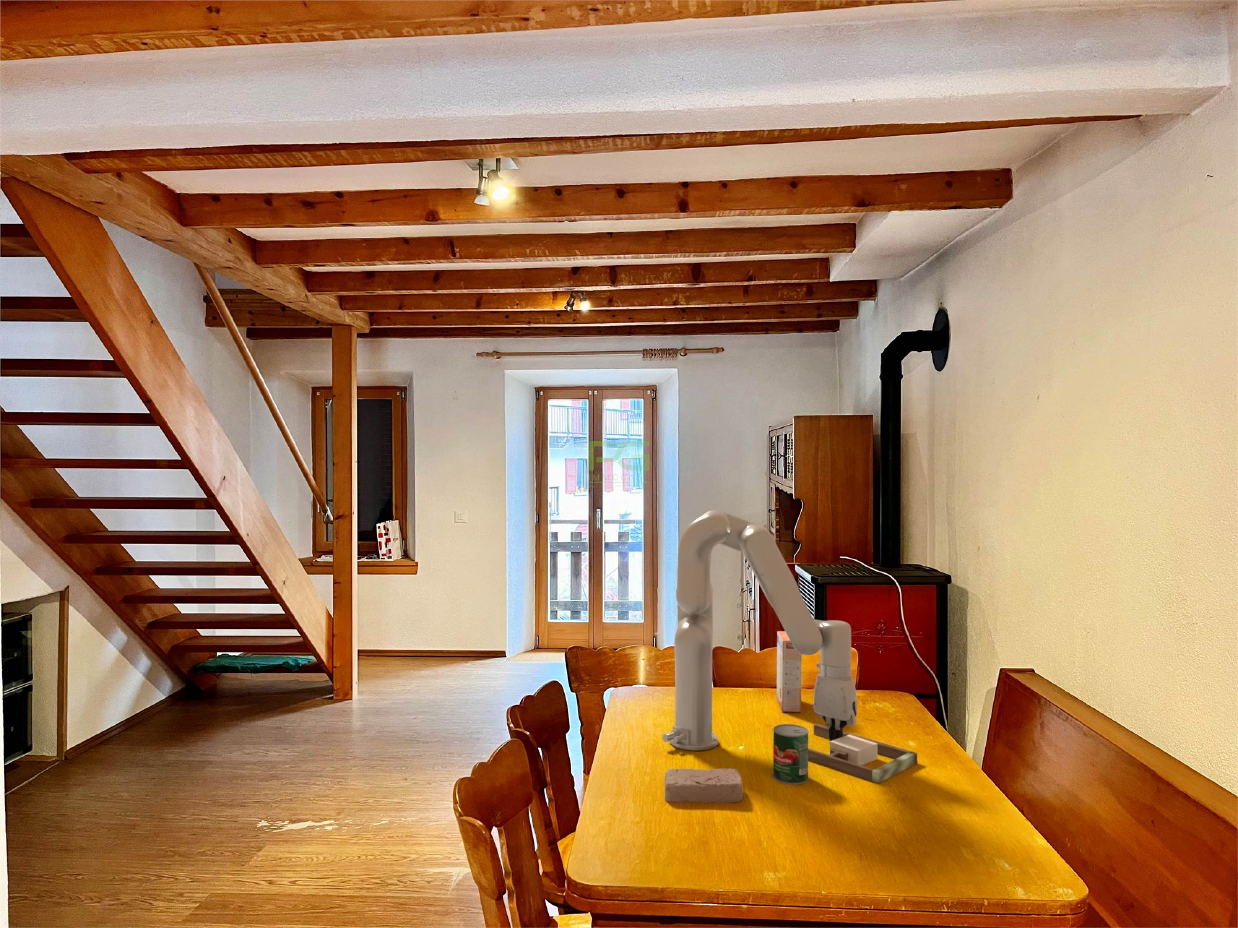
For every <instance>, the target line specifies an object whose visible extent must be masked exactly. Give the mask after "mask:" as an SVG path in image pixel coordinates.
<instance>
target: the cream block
mask: <svg viewBox="0 0 1238 928" xmlns="http://www.w3.org/2000/svg"><path fill="white" fill-rule="evenodd" d="M850 734H851V733H850ZM850 734H849V735H847V736H844V737H841V738H838V739H835V740H832V741H830V740H829V751H830V750H831V749H837V750H840V751H843V752H846V753H848V761H849V762H852V763H855V764H858V765H861V766H864V765H866V764H868V763H870V762H873V761H876V760H878V753H877V743H874V742H871V741H868V740H865V739H862V738H859V737H856V736H853V735H850Z"/></svg>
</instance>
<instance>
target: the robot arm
mask: <svg viewBox="0 0 1238 928" xmlns="http://www.w3.org/2000/svg"><path fill="white" fill-rule="evenodd" d="M718 545H722V546H724V547H727V548H730V549H733V550H735V551H737V552H742V553H743V555H744V557H745V560H746V561H747V563H748V565H749V566H750V569H751V570H752V573H753V574H754V577H755V578H756V581H757V582H758V584H759V587H760V588H761V590H762V592H763V593H764V596H765V598H766V599H767V602H768V603H769V604H770V606H771V607H772V608H773V610H774V612H775V614H776V616H777V618H778V619H779V622H780V623H781V625H782V628H783V629H784V631H786V633H787V635H788V637H789V639H790V641H791V643H792V645H793V647H794V648H795V650H796V651H797V652H799V653H801V654H802V656H803V655H804V656H812V655H815V654H817V653H818V652H819V656H820V657H819V661H820V662H819V661H818V662H816V665H815V666H816V668H818V669H819V673H817V675H816V679H815V683H814V693H813V711H814V712H815V714H816V716H818V717H820V718H821V719H823V721H824V722H825V724H826V727H828V728H829V742H830V741H832V740H835V739H838V738H841V737H843V732H844V729H845V728H846V726H853V725H857V720H856V716H857V714H858V701H857V699H858V697H857V690H856V685H855V680H854V679H855V678H854V677H852V628H851V625H850V624H849V623H848V622H846V621H843V620H836V619H835V620H833V619H832V620H831V619H830V620H822V619H821V620H820V619H814V617H813V616H812V614H811V611H810V610H809V608H808V605H807V604H806V601H805V600H804V598H803V596H802V594H801V591H800V589H799V586H798V583H797V581H796V580H795V577H794V575H793V573H792V571H791V570H790V568H789V566H788V564H787V562H786V560H785V559H784V557H783V554H782V552H781V551H780V549H779V546H778V545H777V543H776V541H775V539H774V538H773V536H772V534H771V532H770V531H769V530H768V529H767V528H766V527H765V526H762V525H760V524H757V523H754V522H751V521H748V520H745V519H742V518H740V517H738V516H735V515H732V514H730V513H727V512H724V511H721V510H718V509H717V510H715V509H712V510H709V511H706V512H705V513H703V514H702V515H701V516H700V517H698V518H697V519H694V520H693V521H692V522H691V523H690V524H689V525H688V526H687V527H686V528H685V530H684V531H683V532H682V534H681V537H680V539H679V543H678V548H677V567H676V568H677V570H676V571H677V573H676V576H677V577H676V591H675V599H676V602H677V609H676V612H677V614H676V615H677V628H676V630H675V634H674V681H675V686H674V688H675V690H674V693H675V695H674V696H675V697H674V699H675V701H674V703H675V706H674V708H675V709H674V710H675V711H674V713H675V714H674V716H675V717H674V720H675V721H674V723H675V725H672V730H671V731H670V732H667V733H664V734H662V741H663V742H664V743H667V742H669V744H670V745H672V746H673V747H675V748H678V749H681V750H684V751H685V750H686V751H695V752H696V751H706V750H711V749H713V748H715V747H717V746H718V744H719V737H718V736H717V735H716V734H715V733H713V646H714V645H713V644H714V643H713V637H714V636H713V635H714V632H713V631H714V630H713V620H714V619H713V617H714V616H713V597H714V596H713V592H714V591H713V585H712V583H711V559H712V558H711V556H712V555H711V554H712V552H713V549H714V548H715V547H716V546H718Z"/></svg>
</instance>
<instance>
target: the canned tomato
mask: <svg viewBox="0 0 1238 928" xmlns="http://www.w3.org/2000/svg"><path fill="white" fill-rule="evenodd" d="M772 731H773V734H772V736H773V742H772V743H773V747H772V748H773V749H772V751H773V754H772V755H773V764H772V766H773V767H772V769H773V770H772V771H773V774H772V778H773V779H774V780H775V781H777V783H780V784H785V785H791V786H792V785H793V786H796V785H804V784H806V783H807V782H808V781H809V760H808V748H809V732H810V731H809V730H808V729H807V728H806V727H804V726H801V725H799V724H791V723H785V724H784V723H783V724H778V725H776V726H773V729H772Z"/></svg>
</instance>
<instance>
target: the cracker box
mask: <svg viewBox="0 0 1238 928" xmlns="http://www.w3.org/2000/svg"><path fill="white" fill-rule="evenodd" d="M776 632H777V633H776V634H777V635H776V636H777V637H776V652H777V653H776V700H777V702H778V705H779V708H780V710H781V712H783V713H802V659H803V658H802V657H803V654H801V653H799V652H797V651H796V650H795V648H794V647H793V645H792V643H791V641H790V639H789V637H788V635H787V633H786V631H785V630H784V631H782V630H778V631H776Z"/></svg>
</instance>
